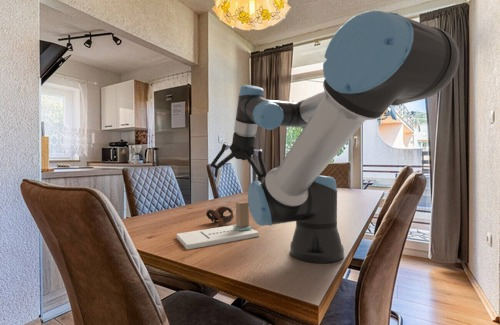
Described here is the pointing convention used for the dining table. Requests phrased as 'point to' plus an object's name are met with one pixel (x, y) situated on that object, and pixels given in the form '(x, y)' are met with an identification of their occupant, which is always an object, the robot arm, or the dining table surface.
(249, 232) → the board
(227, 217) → the dark brown looped ring
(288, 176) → the robot arm
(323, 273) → the dining table surface
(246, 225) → the stub
